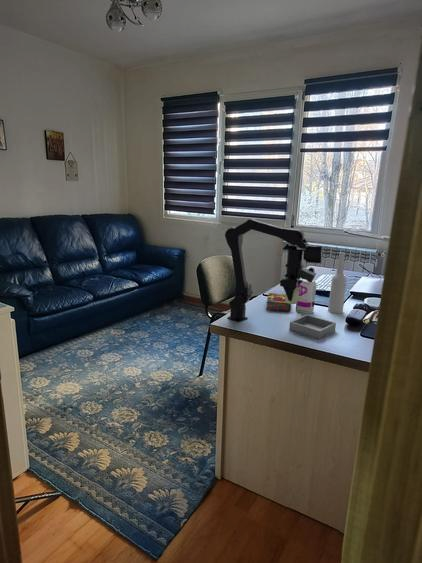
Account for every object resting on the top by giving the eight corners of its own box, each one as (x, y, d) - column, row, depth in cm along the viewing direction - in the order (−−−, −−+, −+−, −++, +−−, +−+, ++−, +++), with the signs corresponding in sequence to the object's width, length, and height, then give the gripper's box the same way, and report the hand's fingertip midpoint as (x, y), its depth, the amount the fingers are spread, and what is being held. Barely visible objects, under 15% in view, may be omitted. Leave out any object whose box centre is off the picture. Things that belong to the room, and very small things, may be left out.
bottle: (345, 312, 168) (353, 253, 161) (336, 314, 165) (343, 254, 158) (334, 308, 174) (341, 251, 167) (325, 310, 170) (331, 252, 163)
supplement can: (303, 314, 163) (306, 283, 159) (291, 309, 170) (294, 278, 166) (317, 312, 167) (320, 281, 163) (305, 307, 174) (307, 277, 170)
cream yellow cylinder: (293, 304, 142) (294, 290, 141) (282, 302, 145) (283, 287, 144) (300, 302, 146) (301, 288, 144) (289, 299, 149) (290, 285, 147)
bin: (319, 339, 136) (320, 331, 135) (289, 329, 145) (289, 321, 144) (335, 331, 145) (336, 322, 144) (306, 322, 154) (306, 314, 153)
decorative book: (290, 303, 181) (291, 293, 179) (290, 313, 165) (291, 303, 164) (268, 301, 183) (268, 291, 182) (265, 311, 168) (266, 300, 166)
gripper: (311, 267, 130) (307, 308, 134) (318, 259, 146) (315, 296, 150) (280, 264, 134) (278, 304, 138) (291, 257, 151) (289, 292, 155)
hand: (291, 299), depth 145 cm, fingers closed on cream yellow cylinder, 5 cm apart
